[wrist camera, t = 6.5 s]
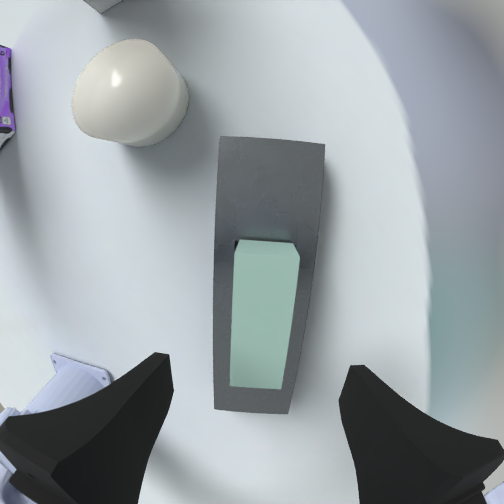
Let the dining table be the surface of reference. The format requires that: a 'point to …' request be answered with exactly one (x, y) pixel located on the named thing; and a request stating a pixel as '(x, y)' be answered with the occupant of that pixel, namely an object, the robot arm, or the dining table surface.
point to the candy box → (5, 97)
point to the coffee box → (102, 4)
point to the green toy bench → (262, 312)
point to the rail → (263, 229)
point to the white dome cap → (130, 95)
